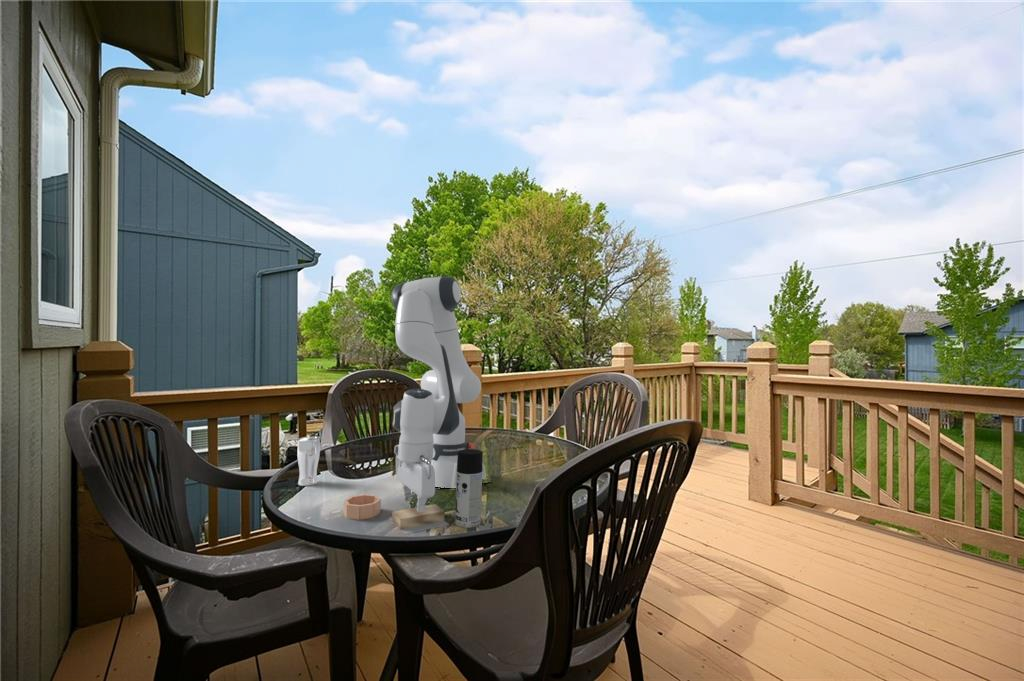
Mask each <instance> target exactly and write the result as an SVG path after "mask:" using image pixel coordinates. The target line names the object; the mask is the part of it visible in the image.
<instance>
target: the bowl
mask: <svg viewBox="0 0 1024 681" xmlns="http://www.w3.org/2000/svg"><path fill="white" fill-rule="evenodd" d="M381 501H382V499H381V498H380V497H379V495H376V494H375V495H374V494H366V493H365V494H358V495H352V496H350V497H349V496H348V498H345V499H344V500H343V512H342V513H343V515H344V517H345V518H346V519H347V520H356V521H359V520H360V521H361V520H365V519H366V520H367V519H372V518H374V517H375V518H376V516H378V515H379V514H380V513H381V505H382V502H381Z"/></svg>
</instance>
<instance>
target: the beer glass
mask: <svg viewBox="0 0 1024 681" xmlns="http://www.w3.org/2000/svg"><path fill="white" fill-rule="evenodd" d="M320 441H321V440H320V437H318V436H303V437H300V438H298V441H297V451H296V452H297V454H296V456H297V462H298V463H297V464H298V468H299V471H298V472H299V477H298V482H297V485H298V486H300V487H310V486H315V485H317V484H318V483H319V481H318V480H319V479H318V474H317V471H318V466H319V460H320V457H321V456H320V455H321V444H320V443H321V442H320Z"/></svg>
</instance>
